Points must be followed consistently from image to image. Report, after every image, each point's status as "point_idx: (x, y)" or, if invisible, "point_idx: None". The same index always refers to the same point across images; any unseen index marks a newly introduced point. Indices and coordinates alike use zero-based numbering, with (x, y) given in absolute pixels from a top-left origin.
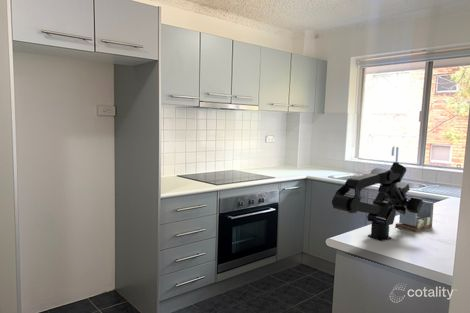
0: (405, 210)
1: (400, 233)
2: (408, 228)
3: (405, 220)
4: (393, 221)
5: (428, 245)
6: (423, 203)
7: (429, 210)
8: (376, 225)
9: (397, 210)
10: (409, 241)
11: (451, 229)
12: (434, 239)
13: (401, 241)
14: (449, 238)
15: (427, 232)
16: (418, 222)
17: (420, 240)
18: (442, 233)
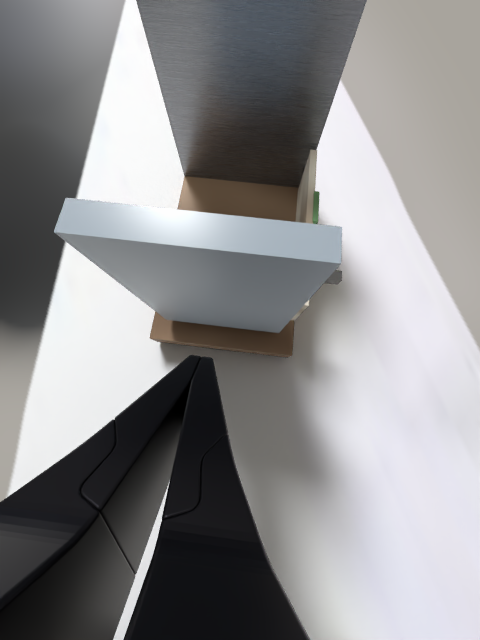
0: (219, 400)
1: (234, 460)
2: (242, 351)
3: (207, 318)
4: None
5: (474, 605)
6: (273, 3)
7: (323, 91)
8: None
9: (140, 561)
10: (356, 622)
11: (376, 156)
12: (422, 418)
13: None
14: (456, 325)
15: (329, 301)
16: (301, 309)
17: (386, 521)
18: (386, 258)
